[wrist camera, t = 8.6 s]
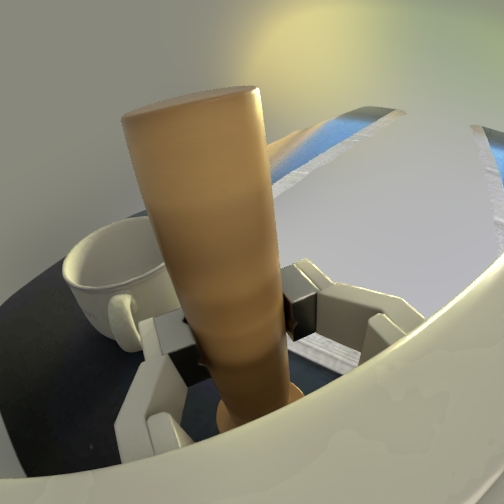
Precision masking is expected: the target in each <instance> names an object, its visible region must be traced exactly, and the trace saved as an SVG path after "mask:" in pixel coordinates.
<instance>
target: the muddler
mask: <svg viewBox="0 0 504 504" xmlns="http://www.w3.org/2000/svg"><path fill="white" fill-rule="evenodd" d="M121 123H122V126H123V130H124V134H125V138H126V142H127V146H128V150H129V153H130V156H131V161H132V164H133V168H134V171H135V174H136V178H137V181H138V185H139V188H140V191H141V195H142V198H143V201H144V204H145V207H146V211H147V214H148V217H149V220H150V223H151V226H152V229H153V232H154V235H155V238H156V241H157V244H158V246H159V249H160V252H161V255H162V258H163V261H164V263H165V266H166V269H167V271H168V274H169V277H170V280H171V282H172V285H173V287H174V290H175V293H176V295H177V298H178V300H179V303H180V305H181V308H182V310H183V313H184V315H185V318H186V320H187V323H188V325H189V326H190V327H191V329H192V332H193V334H194V336H195V339H196V341H197V343H198V346H199V348H200V351H201V353H202V355H203V357H204V360H205V362H206V364H207V367H208V369H209V371H210V374H211V376H212V379H213V382H214V384H215V386H216V388H217V390H218V392H219V394H220V396H221V398H222V399H221V401H220V403H219V405H218V408H217V413H216V422H217V427H218V430H219V432H220V434H222V433H224V432H227V431H229V430H232V429H235V428H237V427H239V426H242V425H244V424H247V423H249V422H251V421H254V420H256V419H258V418H261V417H263V416H265V415H267V414H269V413H272V412H274V411H276V410H278V409H280V408H282V407H284V406H286V405H289V404H291V403H293V402H295V401H297V400H299V399H301V398H303V397H305V396H304V394H303V393H302V392H301V390H300V389H299V388H298V387H296V386H295V385H294V384H293V383H291V382H290V377H289V363H288V350H287V338H286V326H285V314H284V303H283V292H282V281H281V270H280V261H279V250H278V240H277V231H276V221H275V212H274V203H273V194H272V185H271V177H270V168H269V160H268V152H267V144H266V136H265V129H264V120H263V112H262V105H261V97H260V91H259V89H258V87H256V86H238V87H228V88H220V89H214V90H207V91H202V92H197V93H192V94H187V95H183V96H178V97H175V98H171V99H167V100H163V101H159V102H156V103H153V104H150V105H146V106H144V107H141V108H138V109H135V110H133V111H130V112H128V113H126V114H124V115H123V116H122V118H121Z"/></svg>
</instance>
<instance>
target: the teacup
mask: <svg viewBox="0 0 504 504" xmlns="http://www.w3.org/2000/svg"><path fill="white" fill-rule="evenodd" d="M62 274H63V278H64V280H65V281H66V283H67V284H68V285H69V286H70V288H71V290H72V292H73V294H74V296H75V298H76V300H77V302H78V304H79V306H80V307H81V309H82V311H83V312H84V314H85V316H86V317H87V319H88V320H89V321H90V323H91V324H92V325H93V326H94V327H95V328H96V329H97V330H98V331H99V332H100V333H101V334H103V335H105V336H106V337H108V338H111V339H113V340H116V341H117V343H118V344H119V346H120V347H121V348H122V349H123V350H124V351H126V352H138V351H141V350H143V349H142V344H141V339H140V334H139V328H138V323H139V322H140V321H143V320H146V319H149V318H153V317H154V316H157V315H160V314H163V313H166V312H169V311H172V310H175V309H178V308H181V305H180V303H179V300H178V298H177V295H176V293H175V290H174V287H173V285H172V282H171V280H170V277H169V274H168V271H167V269H166V266H165V263H164V261H163V258H162V255H161V252H160V249H159V246H158V244H157V241H156V238H155V235H154V232H153V229H152V226H151V223H150V220H149V217H148V216H143V217H135V218H128V219H124V220H121V221H118V222H115V223H112V224H109V225H107V226H105V227H102V228H100V229H99V230H96V231H95V232H93V233H91V234H90V235H88V236H87V237H85V238H84V239H83V240H81V241H80V242H79V243H77V244H76V245H75V246H74V247H73V248H72V250H71V251H70V252H69V253H68V254H67V256H66V258H65V260H64V262H63V265H62Z"/></svg>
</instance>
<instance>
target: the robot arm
mask: <svg viewBox="0 0 504 504" xmlns="http://www.w3.org/2000/svg"><path fill="white" fill-rule="evenodd" d="M280 270H281V281H282V292H283V303H284V314H285V326H286V332H287V334H288V335H289V336H290V338H291V339H292V340H293V342H295V341H297V340H299V339H301V338H304V337H306V336H308V335H310V334H312V333H314V332H316V333H318V334H320V335H322V336H324V337H327V338H329V339H331V340H333V341H336V342H338V343H340V344H343V345H345V346H347V347H350V348H352V349H354V350H357V351H359V352H361V356H360V360H359V364H358V367H357V368H355V369H353V370H352V371H350V372H348V373H346V374H345V375H343V376H341V377H340V378H338V379H336V380H334V381H333V382H331V383H329V384H327V385H325V386H323V387H322V388H320V389H318V390H316V391H314V392H312V393H310V394H308V395H306V396H305V397H303V398H301V399H299V400H297V401H295V402H293V403H291V404H289V405H286V406H284V407H282V408H280V409H278V410H276V411H274V412H272V413H269V414H267V415H265V416H263V417H261V418H258V419H256V420H254V421H251V422H249V423H247V424H244V425H242V426H239V427H237V428H235V429H232V430H229V431H227V432H224V433H222V434H219V435H216V436H214V437H211V438H208V439H206V440H203V441H200V442H197V443H195V442H194V441H193V440H192V439H191V438H190V437H189V436H188V434H187V433H186V432H185V431H184V430H183V429H182V428H181V427H180V422H181V418H182V413H183V409H184V404H185V400H186V396H187V391H188V388H187V387H189V386H192V385H194V384H197V383H199V382H201V381H204V380H206V379H209V378H211V377H212V376H211V374H210V371H209V369H208V367H207V364H206V362H205V360H204V357H203V355H202V353H201V351H200V348H199V346H198V343H197V341H196V339H195V336H194V334H193V332H192V329H191V327H190V326H189V325H188V323H187V320H186V318H185V315H184V313H183V310H182V308H178V309H175V310H172V311H169V312H166V313H163V314H160V315H157V316H154V317H153V318H149V319H146V320H143V321H140V322H139V323H138V328H139V334H140V339H141V344H142V349H143V353H144V358H145V362H142V363H141V364H140V366H139V368H138V370H137V373H136V375H135V377H134V379H133V382H132V384H131V386H130V389H129V391H128V393H127V395H126V398H125V400H124V402H123V405H122V407H121V410H120V412H119V414H118V417H117V419H116V422H115V424H114V427H115V433H116V438H117V443H118V448H119V453H120V457H121V462H122V464H119V465H115V466H110V467H105V468H100V469H95V470H89V471H83V472H77V473H70V474H62V475H54V476H44V477H32V478H13V479H0V504H504V253H503V254H502V255H501V256H500V257H499V258H498V259H497V260H496V261H495V262H494V263H493V264H492V265H491V266H490V267H489V268H488V269H487V270H486V271H485V272H483V273H482V274H481V275H480V276H479V277H478V278H477V279H476V280H475V281H474V282H472V283H471V284H470V285H469V286H468V287H467V288H466V289H465V290H463V291H462V292H461V293H460V294H459V295H457V296H456V297H455V298H454V299H453V300H451V301H450V302H449V303H448V304H446V305H445V306H444V307H443V308H442V309H440V310H439V311H438V312H436V313H435V314H434V315H433V316H431V317H430V318H429V319H425V318H424V317H423V316H422V315H421V314H420V313H419V312H417V311H416V310H415V309H414V308H413V307H412V306H410V305H409V304H408V303H407V302H406V301H405V300H404V299H402V298H400V297H396V296H392V295H388V294H383V293H380V292H376V291H372V290H368V289H363V288H360V287H356V286H352V285H348V284H344V283H340V282H338V283H336V284H334V283H333V282H332V281H331V280H330V279H329V278H328V277H327V276H326V275H325V274H324V273H323V272H322V271H320V270H319V269H318V268H317V267H316V266H315V265H314V264H313V263H312V262H310V260H309V259H306V258H305V259H303V260H300V261H298V262H296V263H294V264H292V265H289V266H287V267H284V268H282V269H280Z"/></svg>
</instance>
